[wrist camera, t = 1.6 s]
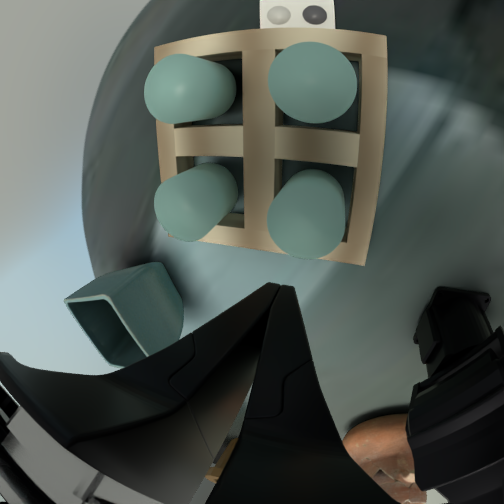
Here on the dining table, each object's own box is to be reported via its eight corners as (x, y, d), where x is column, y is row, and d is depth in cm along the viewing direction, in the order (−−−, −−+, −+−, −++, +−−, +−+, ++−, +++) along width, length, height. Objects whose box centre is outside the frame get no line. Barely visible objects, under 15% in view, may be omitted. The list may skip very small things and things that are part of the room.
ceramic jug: (373, 392, 27) (357, 502, 16) (460, 402, 24) (462, 494, 12) (327, 439, 37) (308, 511, 25) (399, 448, 34) (389, 515, 22)
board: (380, 45, 12) (386, 36, 10) (362, 248, 20) (364, 265, 17) (173, 51, 16) (154, 47, 14) (183, 224, 23) (168, 236, 21)
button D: (236, 59, 14) (207, 47, 10) (236, 118, 16) (208, 121, 12) (180, 67, 15) (143, 61, 11) (182, 120, 17) (145, 127, 13)
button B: (352, 61, 12) (356, 45, 8) (351, 124, 14) (355, 128, 10) (284, 57, 13) (267, 41, 10) (284, 118, 15) (267, 120, 12)
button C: (237, 163, 17) (210, 178, 14) (238, 219, 19) (215, 245, 16) (184, 162, 18) (150, 176, 15) (188, 214, 20) (159, 237, 17)
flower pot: (168, 239, 25) (105, 294, 18) (206, 313, 28) (164, 377, 21) (115, 255, 29) (61, 300, 21) (150, 316, 32) (109, 366, 24)
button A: (347, 173, 15) (350, 191, 12) (340, 232, 17) (339, 264, 14) (283, 166, 16) (267, 181, 13) (281, 224, 18) (265, 253, 15)
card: (331, -22, 10) (331, -25, 10) (335, 33, 13) (335, 31, 12) (260, -21, 11) (258, -23, 11) (261, 32, 14) (259, 31, 14)
